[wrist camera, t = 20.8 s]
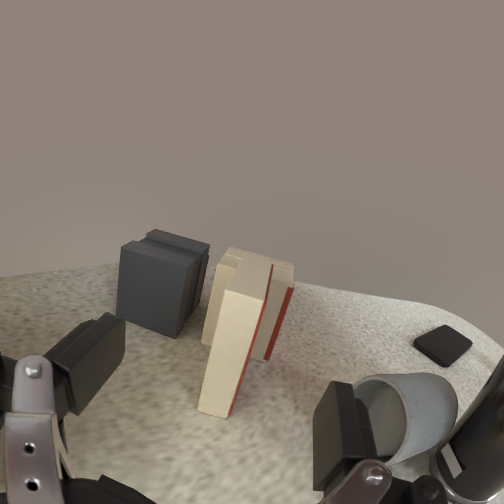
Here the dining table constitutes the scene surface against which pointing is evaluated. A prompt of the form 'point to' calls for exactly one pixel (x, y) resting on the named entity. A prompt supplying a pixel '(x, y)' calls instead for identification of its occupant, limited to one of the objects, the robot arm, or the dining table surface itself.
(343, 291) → the dining table surface
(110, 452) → the dining table surface
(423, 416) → the ceramic mug
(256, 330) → the thin ivory book
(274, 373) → the dining table surface
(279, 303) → the ivory books
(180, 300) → the grey books
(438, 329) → the phone
